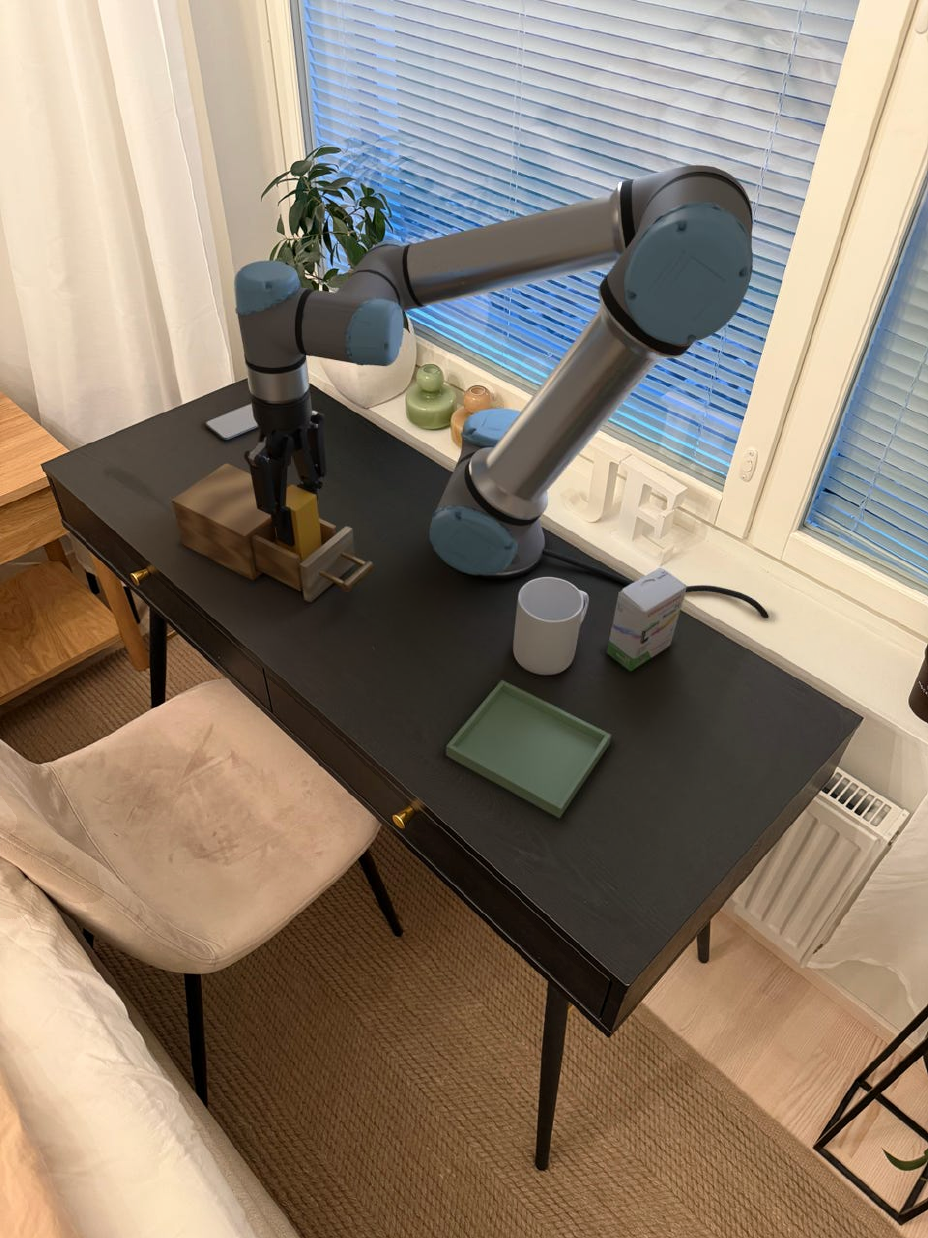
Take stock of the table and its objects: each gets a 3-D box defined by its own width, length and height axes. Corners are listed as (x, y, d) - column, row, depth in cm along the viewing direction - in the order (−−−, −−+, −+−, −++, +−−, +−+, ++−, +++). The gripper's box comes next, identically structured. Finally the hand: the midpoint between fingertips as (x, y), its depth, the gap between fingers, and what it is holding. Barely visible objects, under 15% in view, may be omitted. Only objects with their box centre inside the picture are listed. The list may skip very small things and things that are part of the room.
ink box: (630, 673, 122) (645, 612, 114) (604, 652, 125) (617, 590, 117) (672, 645, 126) (689, 584, 118) (646, 625, 129) (661, 564, 121)
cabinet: (303, 539, 140) (298, 495, 134) (253, 580, 133) (244, 536, 127) (234, 506, 146) (226, 462, 139) (182, 544, 138) (171, 499, 132)
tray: (609, 744, 114) (611, 734, 112) (559, 818, 106) (561, 809, 104) (500, 689, 120) (501, 679, 118) (445, 755, 112) (446, 745, 110)
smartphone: (294, 409, 165) (224, 439, 158) (295, 412, 166) (225, 441, 158) (273, 394, 169) (203, 422, 161) (273, 396, 169) (204, 424, 162)
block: (323, 559, 134) (316, 495, 125) (303, 576, 131) (295, 511, 123) (300, 548, 136) (292, 484, 127) (280, 564, 133) (270, 499, 124)
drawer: (384, 577, 133) (382, 542, 128) (340, 618, 127) (337, 582, 122) (287, 530, 140) (282, 496, 135) (240, 566, 134) (234, 531, 129)
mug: (604, 648, 125) (616, 593, 118) (540, 687, 120) (548, 631, 112) (563, 614, 130) (571, 558, 123) (499, 649, 125) (504, 593, 117)
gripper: (302, 353, 120) (317, 493, 136) (208, 410, 109) (236, 555, 126) (346, 369, 117) (356, 511, 133) (254, 430, 106) (277, 575, 123)
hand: (298, 532), depth 129 cm, fingers closed on block, 4 cm apart
